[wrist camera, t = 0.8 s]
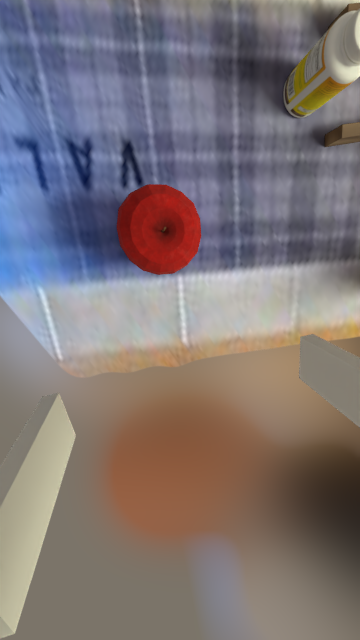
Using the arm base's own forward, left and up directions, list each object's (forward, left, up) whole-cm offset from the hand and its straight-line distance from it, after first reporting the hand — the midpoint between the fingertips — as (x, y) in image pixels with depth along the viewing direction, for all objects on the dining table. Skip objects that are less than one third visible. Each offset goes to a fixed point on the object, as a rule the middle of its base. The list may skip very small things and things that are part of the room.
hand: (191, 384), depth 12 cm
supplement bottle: (-22, +25, -25) cm, 42 cm away
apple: (-8, +2, -25) cm, 26 cm away
